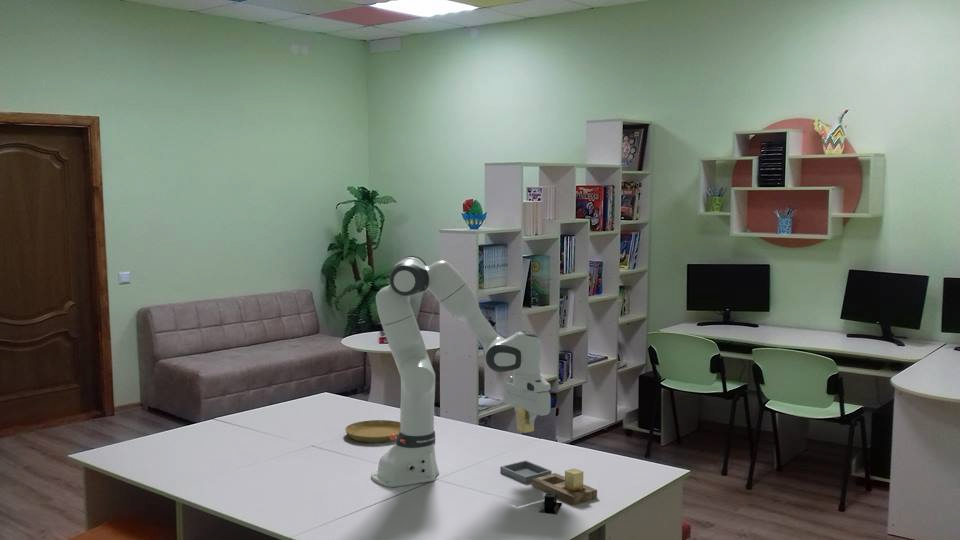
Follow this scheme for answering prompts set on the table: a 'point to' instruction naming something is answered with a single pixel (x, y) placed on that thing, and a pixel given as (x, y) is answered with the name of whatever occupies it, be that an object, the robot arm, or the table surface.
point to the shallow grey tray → (524, 471)
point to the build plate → (550, 504)
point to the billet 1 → (523, 420)
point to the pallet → (563, 489)
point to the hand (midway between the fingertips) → (525, 422)
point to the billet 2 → (574, 480)
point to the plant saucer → (373, 430)
